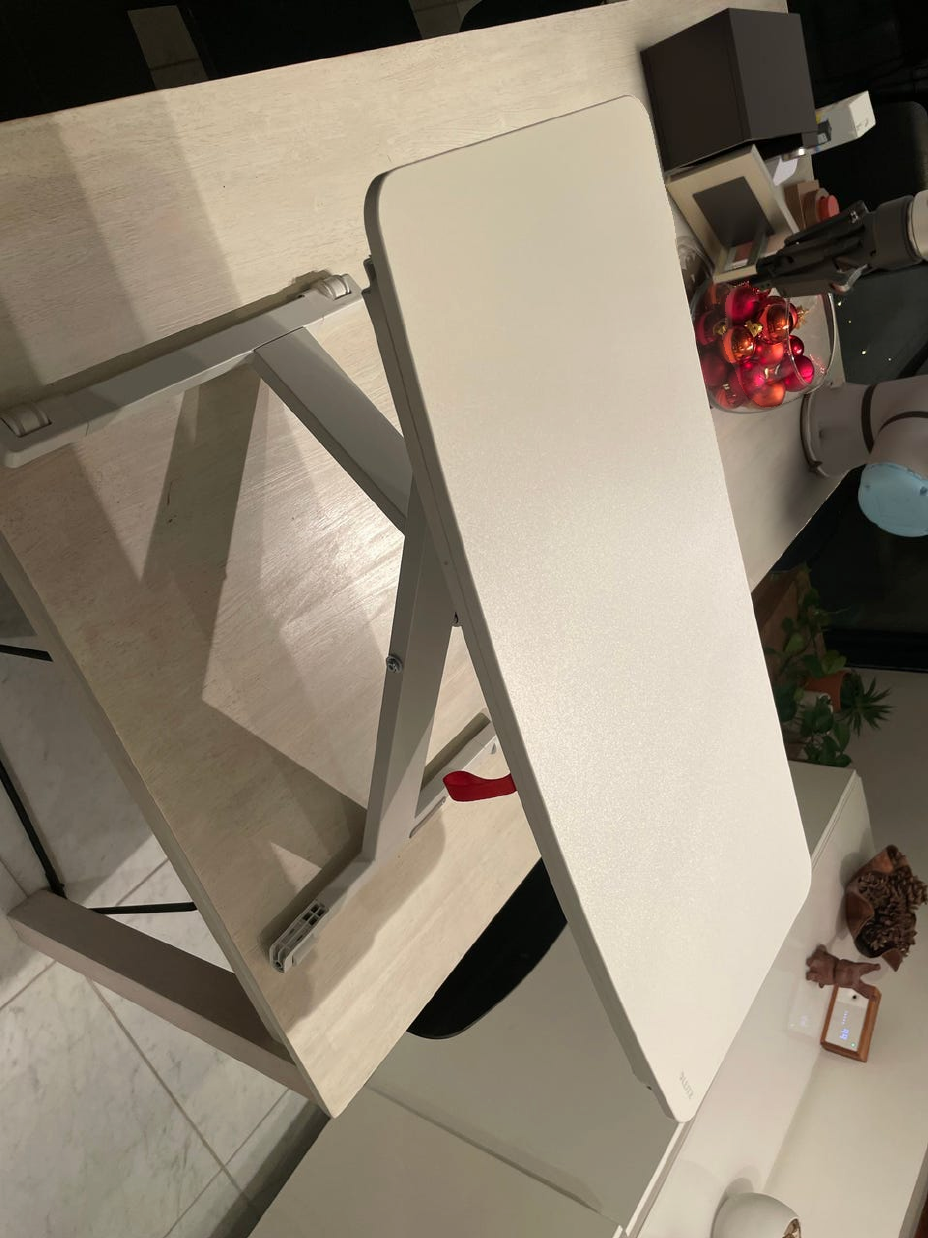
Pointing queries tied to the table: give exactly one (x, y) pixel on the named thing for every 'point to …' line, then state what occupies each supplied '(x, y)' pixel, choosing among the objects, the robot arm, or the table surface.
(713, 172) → the door
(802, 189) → the box
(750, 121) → the box
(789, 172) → the wedge on round base
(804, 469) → the table surface
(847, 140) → the ink box
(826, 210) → the button
